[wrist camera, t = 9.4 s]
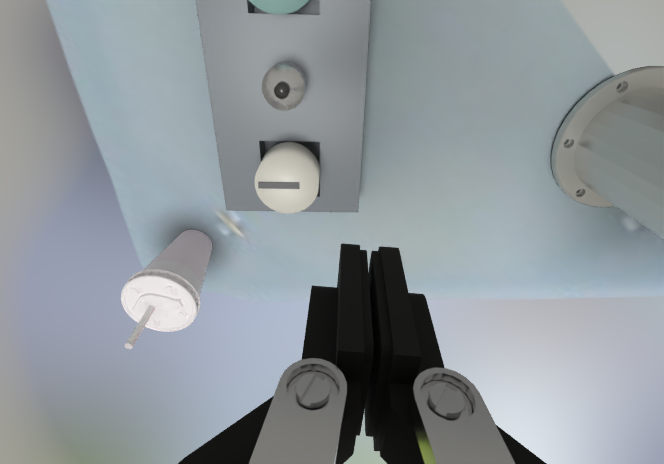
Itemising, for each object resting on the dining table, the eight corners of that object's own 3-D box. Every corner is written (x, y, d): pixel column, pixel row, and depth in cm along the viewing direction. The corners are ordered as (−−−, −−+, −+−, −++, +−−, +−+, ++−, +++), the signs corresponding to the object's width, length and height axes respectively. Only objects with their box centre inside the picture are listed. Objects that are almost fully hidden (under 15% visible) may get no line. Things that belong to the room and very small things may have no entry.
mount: (372, -95, 26) (377, -109, 23) (356, 195, 37) (358, 212, 34) (197, -98, 25) (179, -113, 22) (235, 194, 37) (226, 210, 34)
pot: (306, 61, 27) (303, 67, 24) (307, 103, 29) (304, 114, 26) (265, 60, 27) (257, 66, 24) (268, 102, 29) (261, 113, 26)
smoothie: (154, 223, 38) (73, 319, 26) (213, 213, 38) (158, 308, 26) (178, 272, 42) (115, 377, 30) (233, 264, 41) (191, 368, 29)
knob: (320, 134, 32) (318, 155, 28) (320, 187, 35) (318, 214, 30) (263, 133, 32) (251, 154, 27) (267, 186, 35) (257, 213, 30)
